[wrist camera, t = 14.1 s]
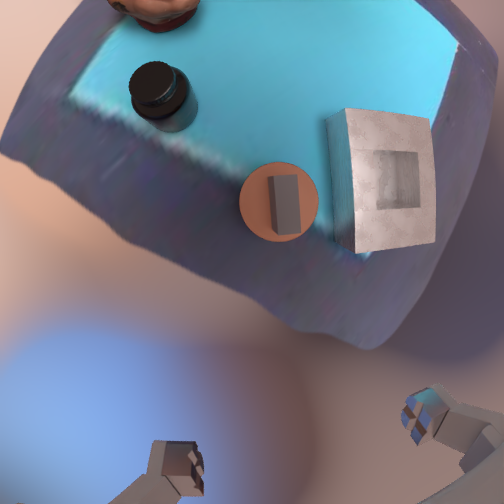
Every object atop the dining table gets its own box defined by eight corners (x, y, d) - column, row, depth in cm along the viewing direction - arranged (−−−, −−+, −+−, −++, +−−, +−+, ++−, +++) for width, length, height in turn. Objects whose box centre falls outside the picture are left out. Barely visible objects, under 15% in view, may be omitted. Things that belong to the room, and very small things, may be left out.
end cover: (234, 168, 35) (237, 162, 25) (301, 163, 36) (327, 157, 26) (240, 235, 38) (246, 254, 28) (305, 229, 38) (332, 244, 28)
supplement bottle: (186, 80, 32) (171, 41, 20) (206, 119, 33) (197, 90, 22) (142, 103, 32) (111, 74, 20) (160, 142, 34) (132, 125, 22)
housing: (325, 119, 35) (344, 107, 28) (402, 125, 36) (428, 118, 29) (334, 241, 39) (355, 253, 32) (408, 233, 40) (434, 242, 33)
